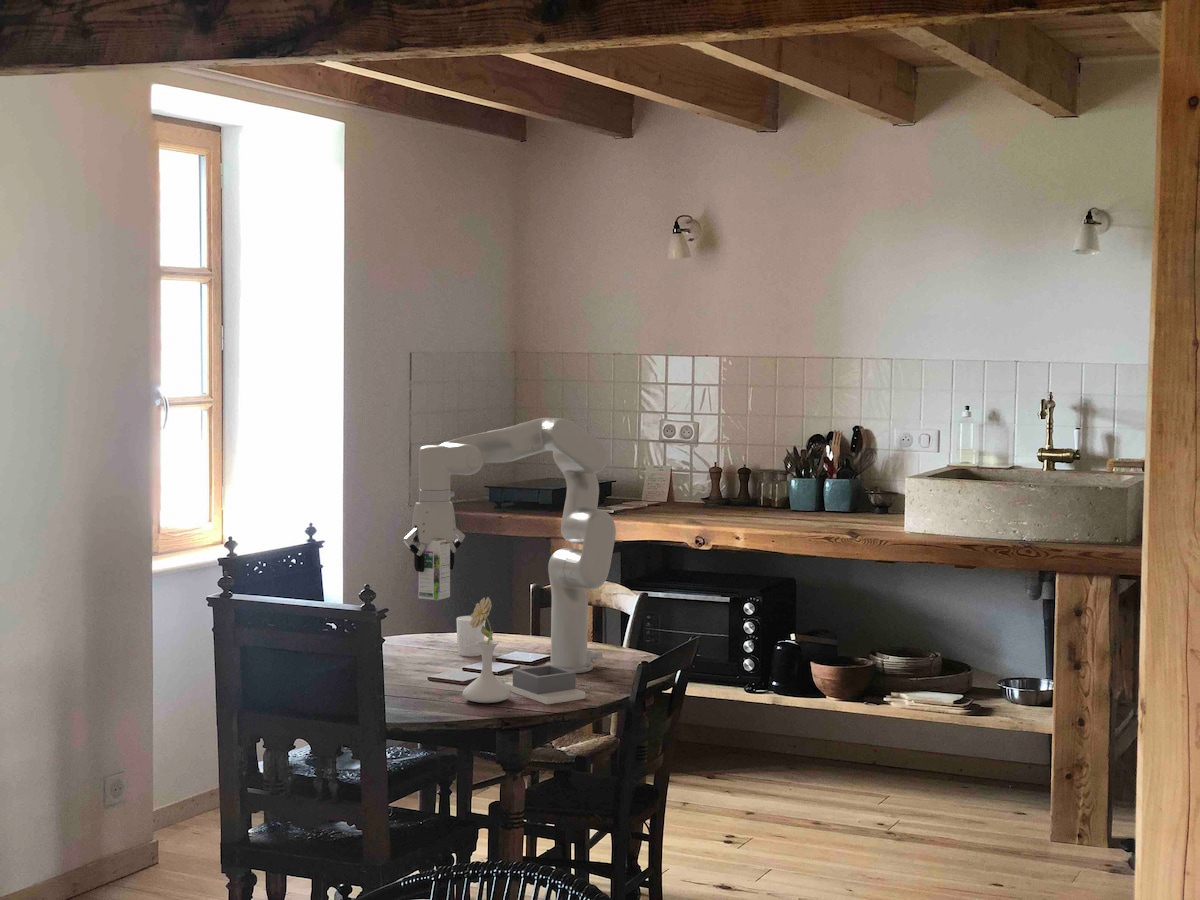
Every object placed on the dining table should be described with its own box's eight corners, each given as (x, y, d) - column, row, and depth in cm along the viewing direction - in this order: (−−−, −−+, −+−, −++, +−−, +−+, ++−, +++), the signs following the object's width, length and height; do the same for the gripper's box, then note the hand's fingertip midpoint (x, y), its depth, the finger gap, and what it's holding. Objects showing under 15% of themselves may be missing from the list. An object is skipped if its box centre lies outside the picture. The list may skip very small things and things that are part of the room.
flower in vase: (462, 695, 327) (464, 591, 325) (510, 695, 327) (512, 591, 326) (461, 708, 314) (462, 600, 312) (511, 708, 314) (512, 600, 313)
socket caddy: (541, 683, 341) (541, 661, 340) (585, 698, 325) (585, 675, 325) (503, 688, 334) (503, 666, 334) (546, 704, 319) (546, 681, 319)
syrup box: (417, 598, 329) (417, 538, 328) (431, 595, 334) (431, 536, 333) (437, 600, 326) (436, 540, 325) (451, 597, 332) (451, 537, 331)
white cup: (458, 657, 371) (459, 621, 370) (453, 652, 378) (454, 616, 378) (487, 656, 373) (487, 620, 372) (482, 651, 380) (482, 615, 380)
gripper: (458, 494, 337) (458, 565, 338) (394, 497, 327) (394, 571, 328) (473, 496, 331) (473, 569, 332) (409, 499, 321) (409, 575, 322)
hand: (434, 569), depth 330 cm, fingers closed on syrup box, 7 cm apart
